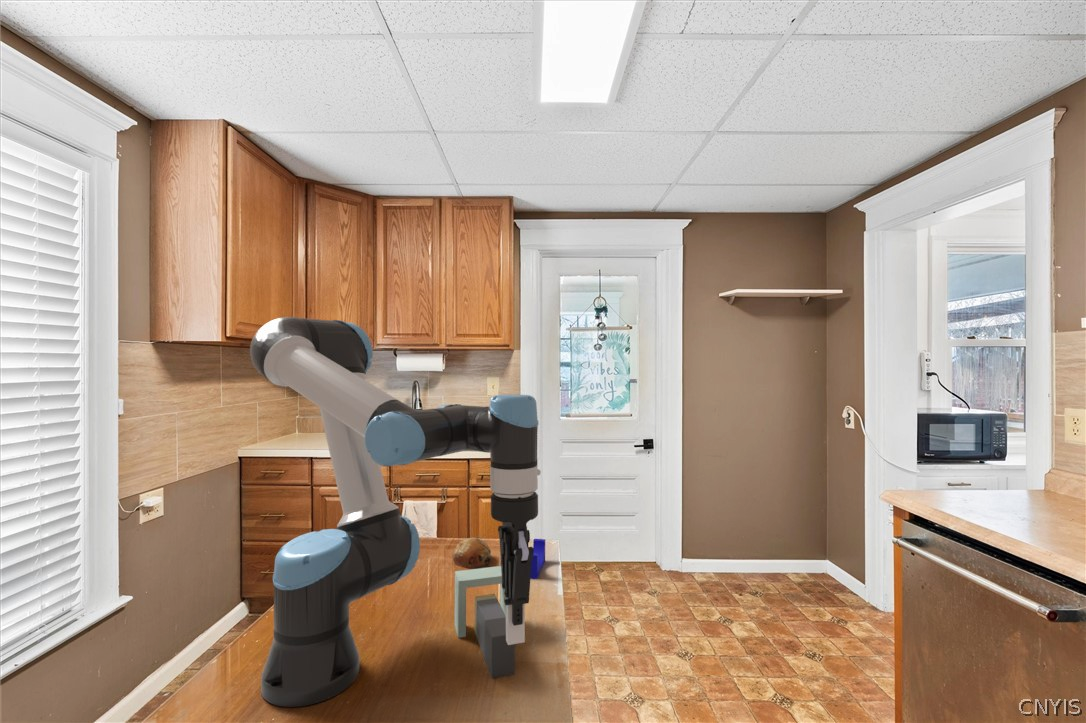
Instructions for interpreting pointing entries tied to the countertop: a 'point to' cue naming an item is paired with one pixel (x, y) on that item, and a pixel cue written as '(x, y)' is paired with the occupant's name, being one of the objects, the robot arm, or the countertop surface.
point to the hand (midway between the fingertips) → (515, 641)
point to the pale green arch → (474, 580)
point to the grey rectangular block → (493, 636)
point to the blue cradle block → (537, 557)
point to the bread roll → (471, 553)
